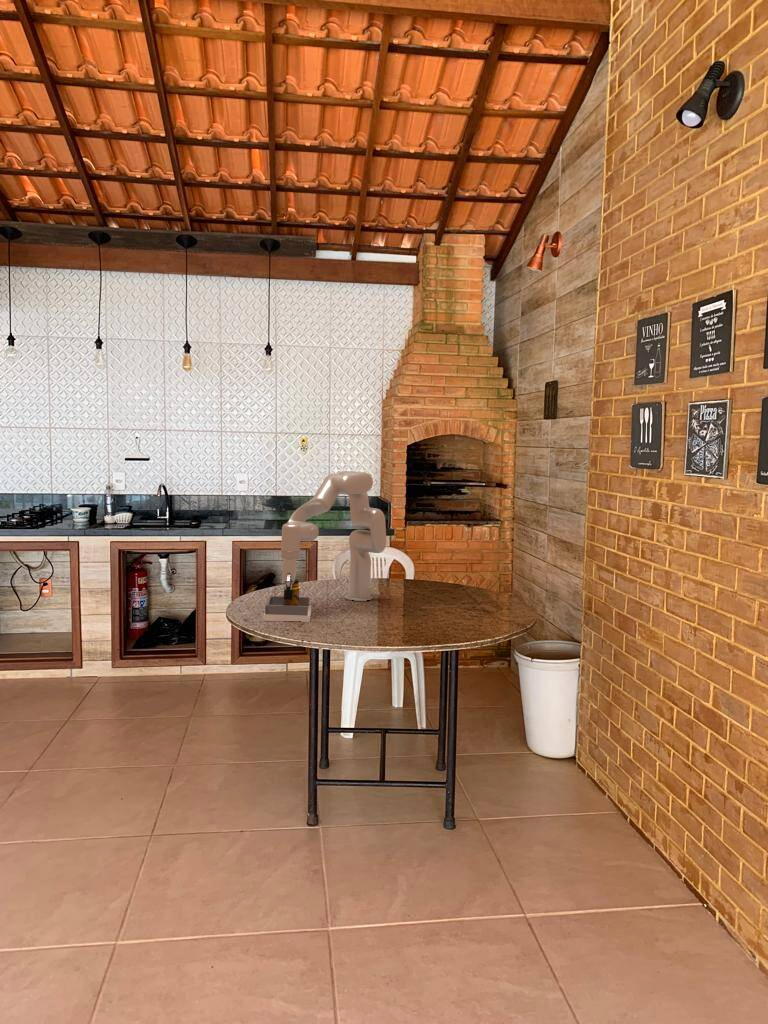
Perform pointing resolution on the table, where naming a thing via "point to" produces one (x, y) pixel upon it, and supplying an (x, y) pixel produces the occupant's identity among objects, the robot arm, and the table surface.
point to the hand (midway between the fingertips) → (288, 596)
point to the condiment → (293, 595)
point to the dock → (287, 610)
